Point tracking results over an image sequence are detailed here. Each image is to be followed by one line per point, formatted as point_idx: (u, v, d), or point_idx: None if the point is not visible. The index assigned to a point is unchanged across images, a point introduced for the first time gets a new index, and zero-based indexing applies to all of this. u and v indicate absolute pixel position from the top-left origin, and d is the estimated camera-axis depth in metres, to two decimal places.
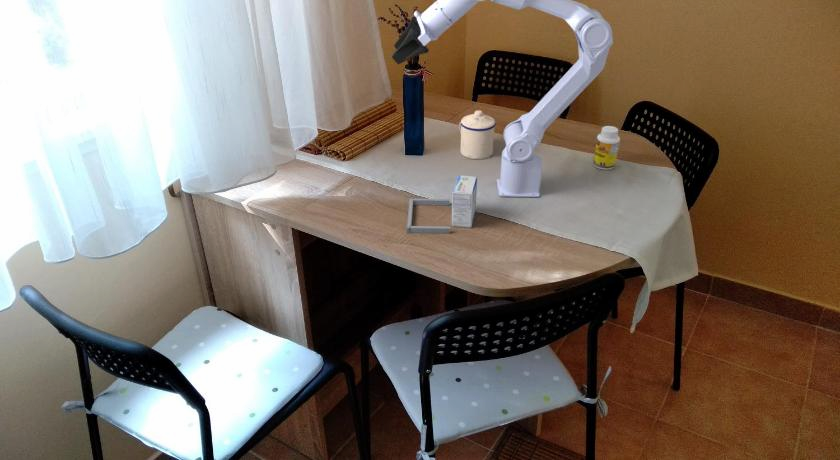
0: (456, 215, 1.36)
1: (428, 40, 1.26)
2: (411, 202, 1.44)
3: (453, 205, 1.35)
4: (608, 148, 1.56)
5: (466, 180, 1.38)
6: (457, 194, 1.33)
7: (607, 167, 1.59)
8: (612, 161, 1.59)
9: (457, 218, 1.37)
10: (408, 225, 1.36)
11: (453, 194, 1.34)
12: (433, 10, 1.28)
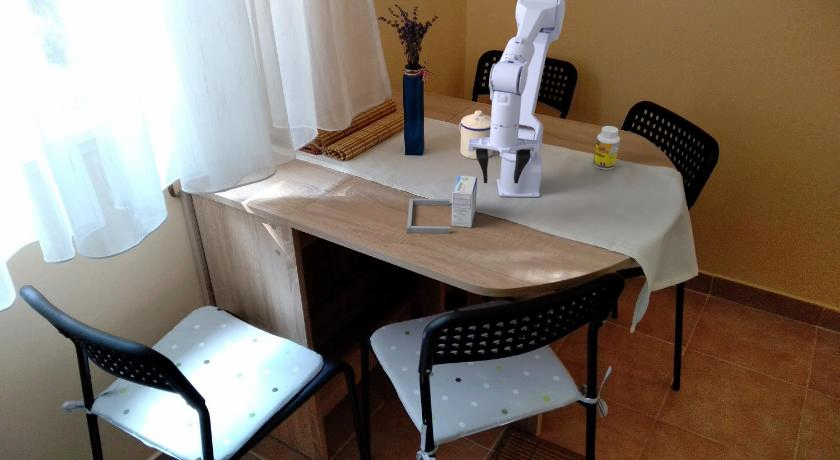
0: (456, 215, 1.36)
1: None
2: (411, 202, 1.44)
3: (453, 205, 1.35)
4: (608, 148, 1.56)
5: (466, 180, 1.38)
6: (457, 194, 1.33)
7: (607, 167, 1.59)
8: (612, 161, 1.59)
9: (457, 218, 1.37)
10: (408, 225, 1.36)
11: (453, 194, 1.34)
12: (514, 132, 1.27)
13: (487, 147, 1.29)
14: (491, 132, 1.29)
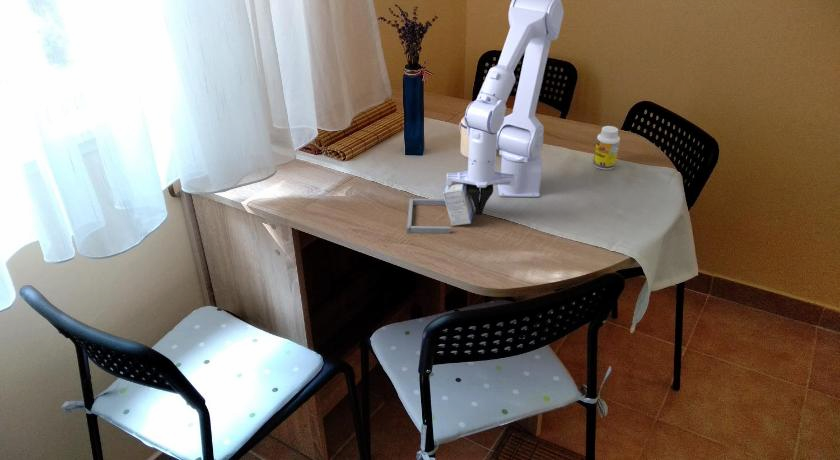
0: (452, 214, 1.36)
1: (514, 176, 1.36)
2: (411, 202, 1.44)
3: (447, 205, 1.35)
4: (608, 148, 1.56)
5: None
6: (448, 193, 1.34)
7: (607, 167, 1.59)
8: (612, 161, 1.59)
9: (454, 217, 1.37)
10: (408, 225, 1.36)
11: (444, 194, 1.34)
12: (491, 167, 1.31)
13: (465, 181, 1.34)
14: (469, 167, 1.33)
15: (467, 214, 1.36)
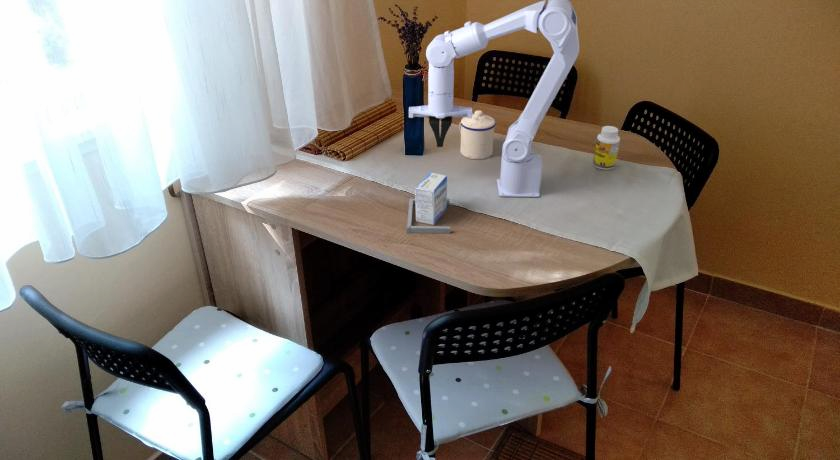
0: (419, 211, 1.38)
1: None
2: (411, 202, 1.44)
3: (416, 201, 1.37)
4: (608, 148, 1.56)
5: (435, 177, 1.39)
6: (420, 190, 1.35)
7: (607, 167, 1.59)
8: (612, 161, 1.59)
9: (420, 214, 1.38)
10: (408, 225, 1.36)
11: (416, 190, 1.35)
12: (449, 99, 1.42)
13: (425, 113, 1.44)
14: (428, 100, 1.44)
15: (432, 215, 1.37)
